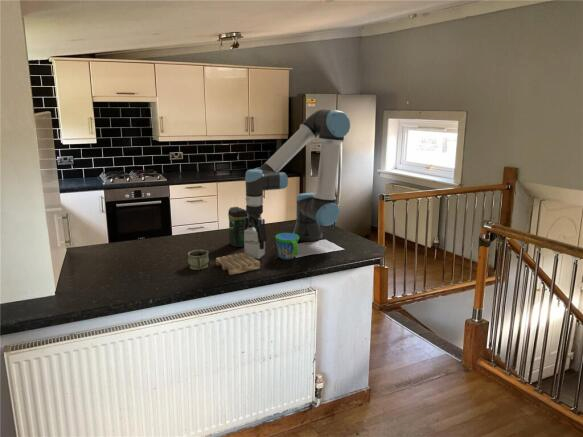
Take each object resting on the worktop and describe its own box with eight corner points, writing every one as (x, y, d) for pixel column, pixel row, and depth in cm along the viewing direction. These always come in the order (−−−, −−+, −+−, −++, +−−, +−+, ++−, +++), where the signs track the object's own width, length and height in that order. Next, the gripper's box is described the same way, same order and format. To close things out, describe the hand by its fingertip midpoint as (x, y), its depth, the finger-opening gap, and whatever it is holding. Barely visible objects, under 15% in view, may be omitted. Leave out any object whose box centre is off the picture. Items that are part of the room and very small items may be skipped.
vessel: (211, 270, 195) (211, 256, 193) (190, 272, 192) (189, 258, 190) (206, 260, 205) (205, 247, 204) (186, 263, 202) (185, 249, 201)
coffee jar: (250, 245, 226) (249, 208, 221) (235, 248, 221) (235, 211, 216) (240, 240, 233) (240, 204, 228) (226, 243, 229) (225, 206, 224)
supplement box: (243, 256, 210) (243, 230, 207) (251, 252, 217) (251, 226, 214) (258, 259, 208) (258, 232, 204) (265, 254, 214) (265, 227, 211)
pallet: (244, 258, 208) (244, 252, 207) (260, 268, 197) (260, 261, 196) (215, 264, 201) (215, 258, 200) (230, 274, 189) (230, 268, 189)
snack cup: (305, 261, 206) (305, 239, 203) (283, 264, 201) (283, 242, 199) (290, 250, 219) (290, 230, 217) (269, 253, 215) (269, 232, 212)
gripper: (235, 200, 213) (236, 246, 219) (259, 210, 195) (260, 260, 201) (249, 198, 217) (250, 244, 223) (275, 208, 199) (274, 257, 205)
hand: (254, 251), depth 212 cm, fingers closed on supplement box, 10 cm apart
